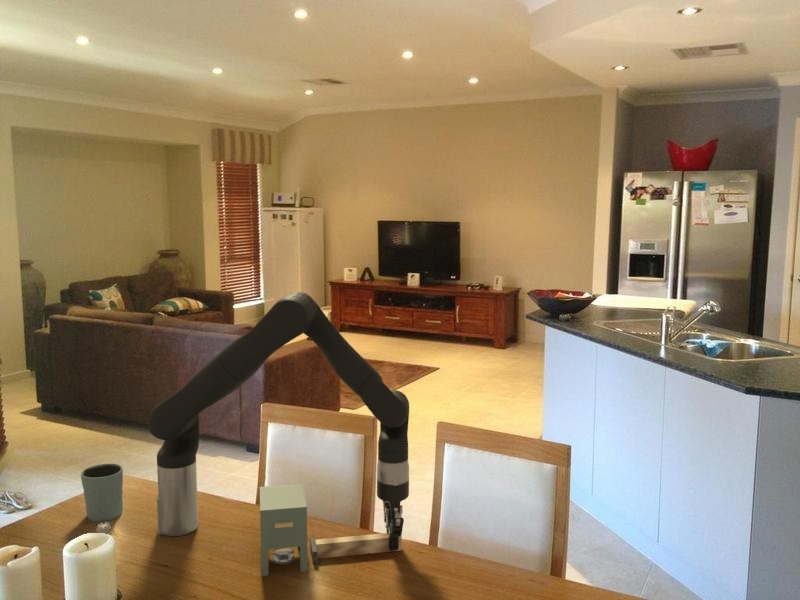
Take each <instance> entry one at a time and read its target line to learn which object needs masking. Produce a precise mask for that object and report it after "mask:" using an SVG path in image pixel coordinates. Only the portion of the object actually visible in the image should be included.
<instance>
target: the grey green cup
mask: <svg viewBox="0 0 800 600" xmlns="http://www.w3.org/2000/svg"><path fill="white" fill-rule="evenodd" d="M123 471H124V468H123V466H122V465H120V464H117V463H102V464H97V465H92V466H90V467H87V468H84V469H83V470H82V471H81V473H80V479H81V485H82V489H83V494H84V501H85V502H84V503H85V510H86V517H87V519H88V520H89V521H92V522H107V521H111V520H114V519H116V518H118V517H120V516H121V515H122V514H123V510H124V502H123V494H124V493H123V491H124V490H123V486H124V484H123V483H124V472H123Z"/></svg>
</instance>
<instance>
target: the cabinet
mask: <svg viewBox="0 0 800 600" xmlns="http://www.w3.org/2000/svg"><path fill="white" fill-rule="evenodd" d="M307 506H308V505H307V501H306V495H305V488H304V484H303V483H295V484H293V483H292V484H282V485H280V484H279V485H268V486H267V485H266V486H260V487H259V510H260V513H259V518H260V519H259V520H260V521H259V522H260V565H261V566H260V567H261V570H260V571H261V572H260V573H261V576H262V577H263V576H264V577H266V576H269V550H278V549H289V548H299V563H300V564H299V565H300V566H299V567H300V569H299V570H300V572H301V573H304V572H305V573H306V572H308V570H309V569H308V507H307Z"/></svg>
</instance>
